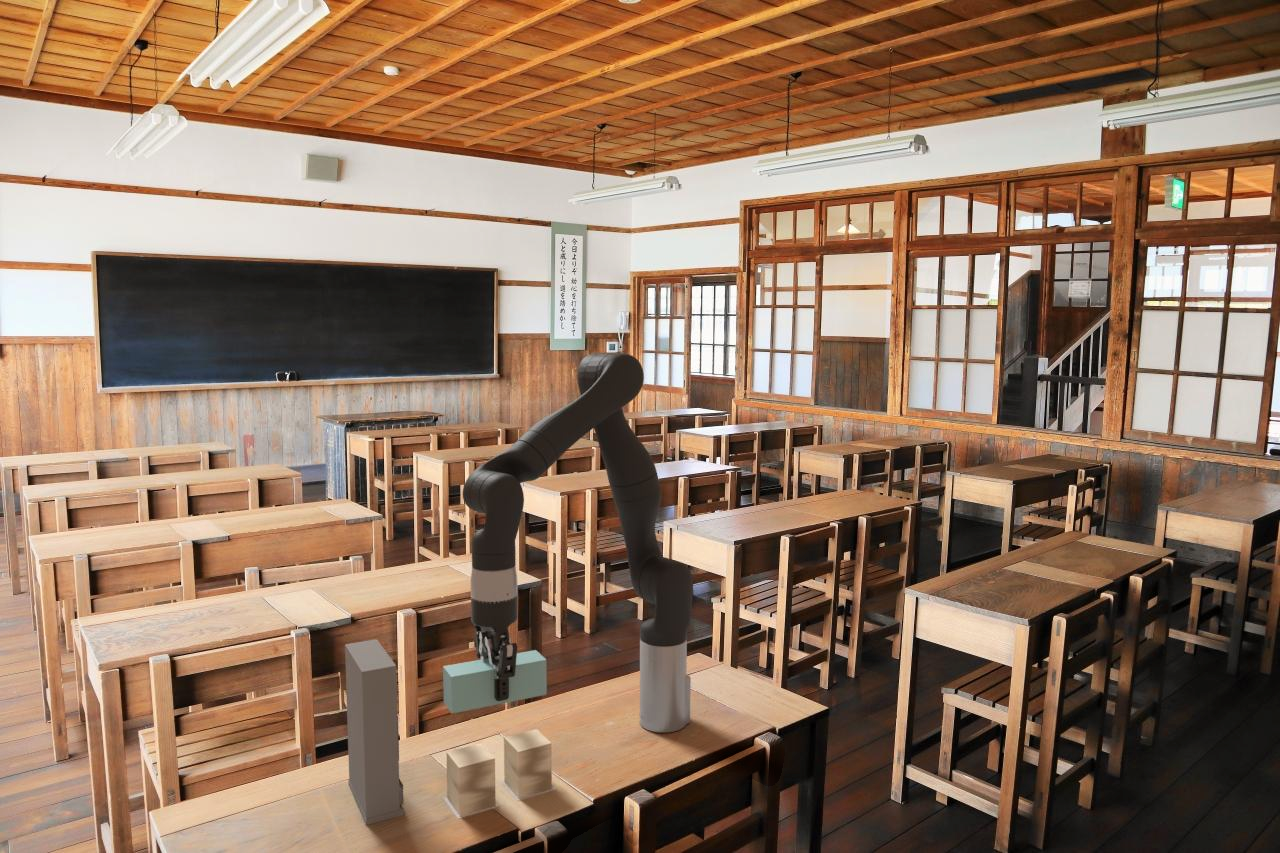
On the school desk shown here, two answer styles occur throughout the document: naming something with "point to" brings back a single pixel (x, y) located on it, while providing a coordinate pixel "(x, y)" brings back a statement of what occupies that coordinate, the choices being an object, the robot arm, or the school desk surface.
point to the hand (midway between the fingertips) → (495, 692)
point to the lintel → (492, 682)
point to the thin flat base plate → (496, 802)
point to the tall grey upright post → (373, 731)
